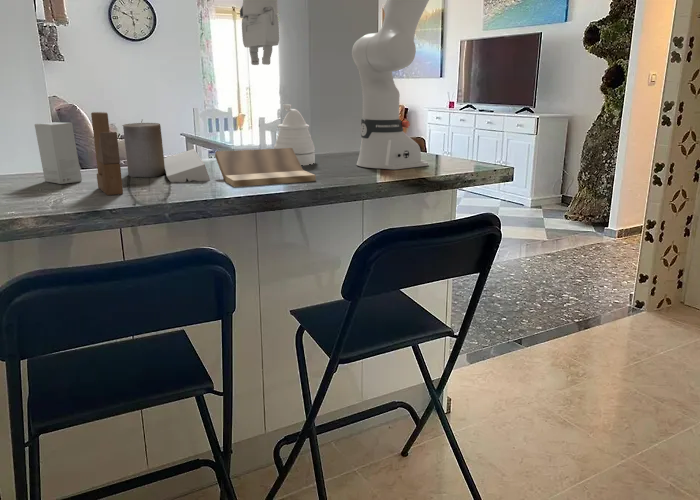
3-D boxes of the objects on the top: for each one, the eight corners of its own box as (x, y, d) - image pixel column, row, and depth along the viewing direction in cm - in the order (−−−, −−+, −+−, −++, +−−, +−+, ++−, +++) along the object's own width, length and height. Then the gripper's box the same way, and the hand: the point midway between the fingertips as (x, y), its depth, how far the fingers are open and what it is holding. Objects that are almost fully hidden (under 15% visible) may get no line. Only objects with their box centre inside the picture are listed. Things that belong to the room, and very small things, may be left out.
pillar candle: (158, 170, 166) (153, 117, 162) (170, 175, 158) (165, 119, 154) (123, 174, 161) (117, 119, 156) (134, 179, 153) (127, 121, 149)
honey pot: (276, 166, 177) (274, 105, 172) (272, 160, 189) (271, 103, 184) (317, 165, 180) (317, 105, 174) (311, 159, 192) (311, 103, 186)
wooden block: (107, 195, 132) (97, 114, 126) (97, 188, 140) (88, 112, 135) (123, 194, 133) (115, 114, 128) (113, 186, 142) (105, 111, 137)
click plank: (291, 152, 167) (292, 147, 165) (302, 175, 161) (303, 170, 160) (215, 156, 157) (215, 151, 156) (224, 180, 151) (224, 175, 150)
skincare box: (82, 181, 148) (75, 122, 144) (59, 185, 143) (51, 124, 139) (64, 178, 153) (57, 120, 148) (42, 181, 148) (33, 122, 144)
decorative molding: (173, 193, 150) (210, 181, 152) (166, 176, 148) (204, 164, 150) (168, 173, 181) (199, 163, 183) (162, 158, 179) (193, 148, 181)
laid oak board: (304, 176, 160) (304, 170, 159) (315, 180, 153) (315, 174, 152) (225, 181, 150) (225, 175, 150) (233, 186, 143) (233, 180, 143)
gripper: (285, 6, 143) (285, 65, 147) (259, 13, 161) (260, 65, 165) (261, 4, 141) (261, 63, 144) (237, 11, 158) (238, 64, 162)
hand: (260, 64), depth 155 cm, fingers open, 8 cm apart
